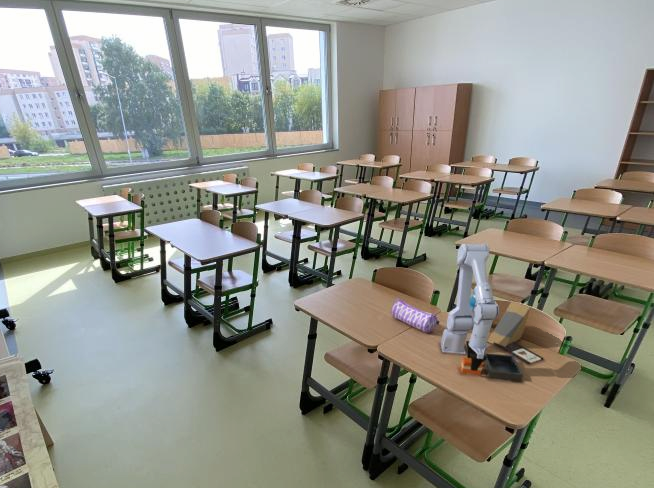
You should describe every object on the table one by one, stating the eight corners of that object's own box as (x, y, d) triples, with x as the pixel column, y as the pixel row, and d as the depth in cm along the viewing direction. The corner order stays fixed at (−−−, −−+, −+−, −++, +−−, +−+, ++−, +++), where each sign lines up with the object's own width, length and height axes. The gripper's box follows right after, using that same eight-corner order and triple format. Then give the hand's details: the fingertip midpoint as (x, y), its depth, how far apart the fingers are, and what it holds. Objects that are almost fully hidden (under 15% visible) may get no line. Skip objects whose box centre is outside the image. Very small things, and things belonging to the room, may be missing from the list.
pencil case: (438, 330, 182) (441, 311, 177) (426, 336, 177) (430, 317, 172) (399, 314, 196) (402, 296, 191) (388, 319, 191) (390, 301, 186)
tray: (488, 379, 150) (490, 371, 148) (481, 360, 161) (483, 352, 160) (520, 382, 149) (523, 374, 147) (511, 362, 160) (513, 355, 158)
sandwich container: (485, 341, 174) (493, 310, 167) (503, 331, 183) (511, 301, 175) (504, 348, 169) (513, 316, 161) (521, 337, 177) (530, 307, 169)
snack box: (461, 373, 153) (464, 362, 150) (460, 368, 156) (462, 357, 153) (480, 375, 152) (483, 363, 149) (478, 370, 155) (481, 358, 152)
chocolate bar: (507, 338, 175) (543, 357, 162) (507, 340, 176) (542, 359, 162) (493, 342, 172) (528, 363, 158) (492, 344, 172) (527, 365, 159)
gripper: (496, 344, 138) (486, 376, 146) (487, 325, 150) (479, 355, 158) (475, 342, 139) (466, 374, 146) (468, 323, 151) (460, 353, 158)
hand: (471, 364), depth 152 cm, fingers open, 7 cm apart
